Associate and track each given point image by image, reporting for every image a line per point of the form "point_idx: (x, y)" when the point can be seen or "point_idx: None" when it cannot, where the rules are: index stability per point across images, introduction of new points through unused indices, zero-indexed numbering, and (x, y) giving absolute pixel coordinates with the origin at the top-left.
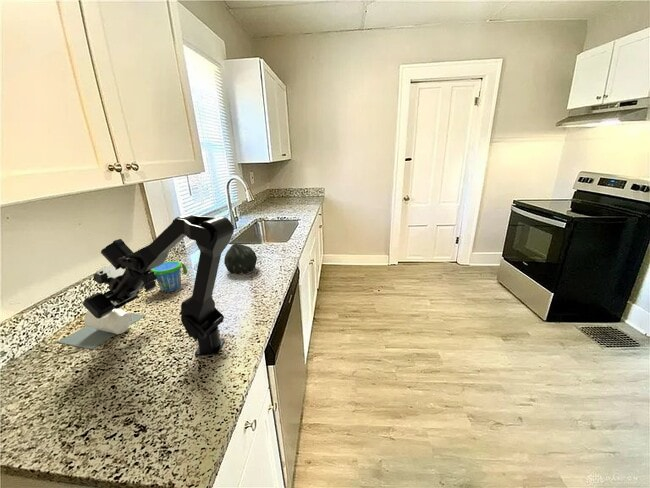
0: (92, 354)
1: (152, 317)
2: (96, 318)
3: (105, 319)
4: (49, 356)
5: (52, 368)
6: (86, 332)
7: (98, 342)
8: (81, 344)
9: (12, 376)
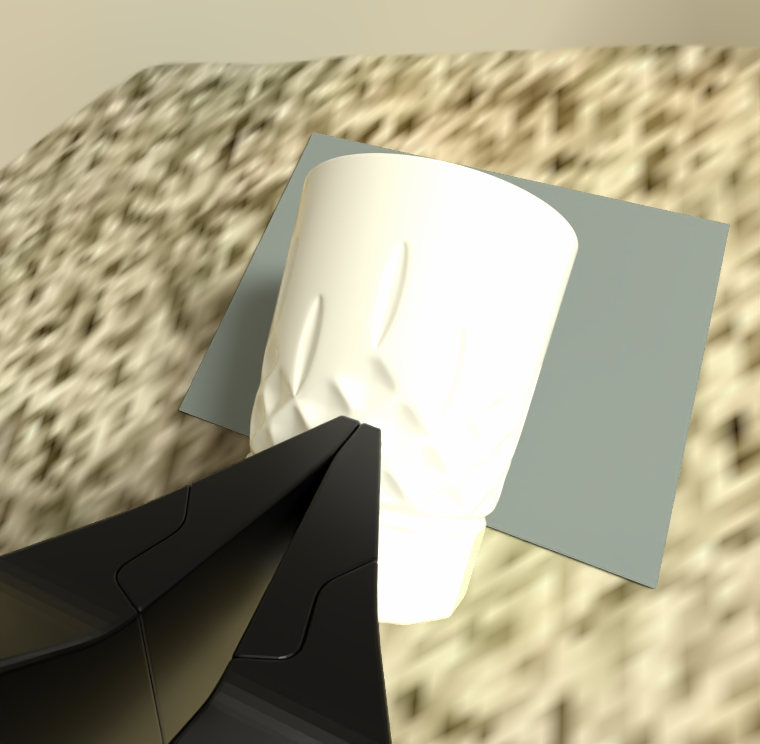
0: (121, 453)
1: (620, 697)
2: (273, 317)
3: (262, 419)
4: (174, 198)
5: (51, 299)
6: None
7: (249, 406)
8: (252, 300)
9: (50, 153)
